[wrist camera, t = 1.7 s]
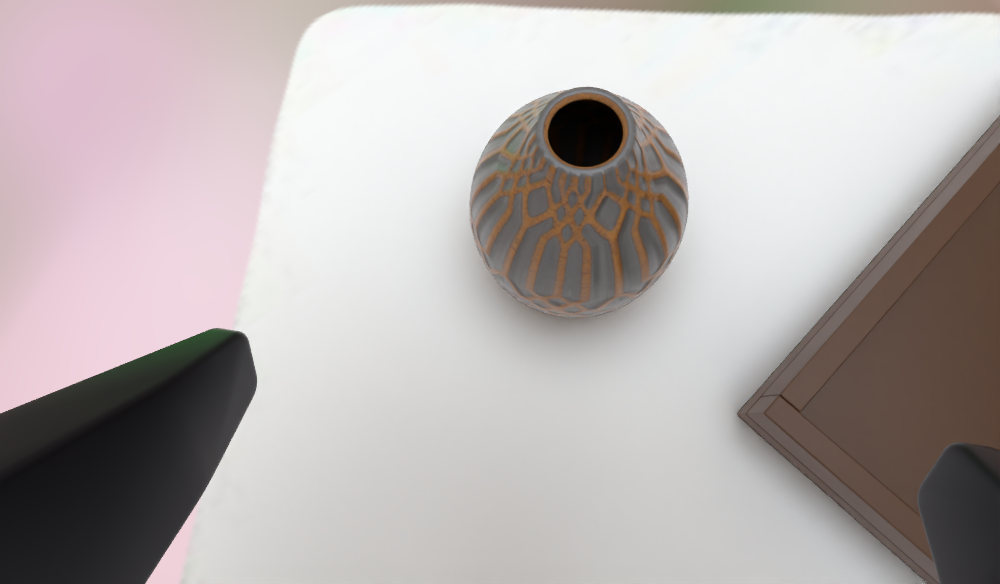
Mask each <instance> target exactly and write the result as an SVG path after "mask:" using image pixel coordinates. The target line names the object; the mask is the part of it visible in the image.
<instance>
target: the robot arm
mask: <svg viewBox="0 0 1000 584" xmlns="http://www.w3.org/2000/svg"><path fill="white" fill-rule="evenodd" d="M256 387H257V375H256V371H255V366H254V362H253V358H252V353H251V349H250V344H249V341H248V338H247V337H246V335H245V334H244V333H242V332H239V331H234V330H227V329H219V328H215V329H210V330H208V331H205V332H203V333H200V334H198V335H195V336H193V337H190V338H188V339H185V340H183V341H180V342H178V343H175V344H173V345H170V346H168V347H165V348H163V349H160V350H158V351H155V352H153V353H150V354H148V355H145V356H143V357H140V358H138V359H135V360H133V361H130V362H128V363H125V364H123V365H120V366H118V367H116V368H113V369H110V370H108V371H105V372H104V373H101V374H98V375H95V376H93V377H90V378H88V379H85V380H83V381H81V382H78V383H76V384H73V385H70V386H68V387H66V388H63V389H61V390H58V391H55V392H53V393H51V394H48V395H46V396H43V397H41V398H38V399H36V400H33V401H31V402H28V403H26V404H23V405H21V406H18V407H16V408H13V409H11V410H8V411H6V412H3V413H1V414H0V584H145V583H146V581H147V580H148V578H149V577H150V575H151V574H152V572H153V571H154V569H155V567H156V566H157V564H158V563H159V561H160V560H161V558H162V557H163V555H164V553H165V552H166V550H167V549H168V547H169V546H170V544H171V543H172V541H173V540H174V538H175V536H176V535H177V533H178V532H179V530H180V529H181V527H182V526H183V524H184V523H185V521H186V520H187V518H188V516H189V515H190V513H191V512H192V510H193V509H194V507H195V505H196V504H197V502H198V501H199V499H200V497H201V496H202V494H203V492H204V491H205V489H206V487H207V485H208V484H209V482H210V480H211V478H212V476H213V475H214V473H215V471H216V469H217V467H218V465H219V463H220V461H221V459H222V457H223V455H224V453H225V451H226V449H227V447H228V445H229V443H230V441H231V439H232V437H233V435H234V434H235V432H236V430H237V428H238V426H239V424H240V422H241V420H242V418H243V416H244V414H245V412H246V410H247V408H248V406H249V404H250V402H251V400H252V398H253V396H254V394H255V391H256ZM917 502H918V509H919V512H920V516H921V519H922V523H923V526H924V530H925V533H926V537H927V540H928V544H929V547H930V551H931V554H932V558H933V561H934V565H935V569H936V572H937V576H938V579H939V583H940V584H1000V450H998V449H995V448H992V447H989V446H983V445H976V444H970V443H963V442H956V443H952V444H950V445H949V446H947V447H946V448H945V449H944V451H943V452H942V453H941V455H940V456H939V458H938V459H937V461H936V462H935V464H934V465H933V467H932V468H931V470H930V471H929V473H928V474H927V476H926V477H925V479H924V480H923V482H922V483H921V485H920V487H919V490H918V496H917Z"/></svg>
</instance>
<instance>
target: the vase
mask: <svg viewBox="0 0 1000 584" xmlns="http://www.w3.org/2000/svg"><path fill="white" fill-rule="evenodd" d="M687 215H688V186H687V179H686V174H685V169H684V166H683V163H682V159H681V157H680V154H679V152H678V150H677V148H676V146H675V144H674V142H673V140H672V139H671V137H670V136H669V134H668V133H667V131H666V130H665V129H664V127H663V126H662V125H661V124H660V123H659V122H658V121H657V120H656V119H655V118H654V117H653V116H652V115H651V114H650V113H649V112H647V111H646V110H645V109H643V108H642V107H640V106H639V105H637V104H635V103H634V102H632V101H630V100H628V99H626V98H624V97H621V96H619V95H616V94H613V93H611V92H609V91H606V90H603V89H600V88H594V87H579V88H573V89H570V90H565V91H560V92H555V93H552V94H548V95H546V96H543V97H541V98H538V99H536V100H534V101H532V102H530V103H528V104H526V105H525V106H523V107H522V108H520V109H519V110H517V111H516V112H515V113H513V114H512V115H511V116H510V117H509V118H508V119H507V120H506V121H505V122H504V123H503V124H502V125H501V126H500V127H499V128H498V129H497V131H496V132H495V133H494V135H493V136H492V137H491V139H490V140H489V142H488V144H487V145H486V147H485V149H484V151H483V153H482V155H481V157H480V159H479V162H478V164H477V167H476V170H475V173H474V177H473V182H472V186H471V193H470V221H471V227H472V232H473V236H474V239H475V243H476V245H477V248H478V251H479V253H480V255H481V257H482V259H483V261H484V263H485V265H486V266H487V268H488V270H489V271H490V272H491V274H492V275H493V276H494V278H495V279H496V280H497V281H498V283H499V284H500V285H501V286H502V287H503V288H504V289H505V290H506V291H507V292H508V293H510V294H511V295H512V296H513V297H515V298H516V299H517V300H519V301H521V302H522V303H524V304H526V305H527V306H529V307H531V308H534V309H536V310H538V311H541V312H544V313H548V314H551V315H556V316H563V317H589V316H595V315H600V314H604V313H608V312H610V311H613V310H616V309H618V308H620V307H622V306H624V305H626V304H628V303H630V302H631V301H633V300H634V299H636V298H637V297H639V296H640V295H641V294H643V293H644V292H645V291H646V290H648V289H649V288H650V287H651V286H652V285H653V284H654V283H655V282H656V281H657V280H658V278H659V277H660V276H661V275H662V274H663V273H664V271H665V270H666V269H667V267H668V266H669V264H670V262H671V261H672V259H673V257H674V256H675V254H676V252H677V250H678V248H679V245H680V243H681V240H682V237H683V234H684V230H685V226H686V222H687Z"/></svg>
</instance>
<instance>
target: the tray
mask: <svg viewBox="0 0 1000 584" xmlns="http://www.w3.org/2000/svg"><path fill="white" fill-rule="evenodd" d="M738 416H739V417H740V418H741V419H742V420H744V421H745V422H746V423H747V424H748V425H749V426H750V427H752V428H753V429H754V430H755V431H756V432H757V433H758V434H759V435H761V436H762V437H763V438H764V439H765V440H766V441H767V442H769V443H770V444H771V445H772V446H773V447H774V448H775V449H776V450H778V451H779V452H780V453H781V454H782V455H783V456H784V457H786V458H787V459H788V460H789V461H790V462H791V463H792V464H793V465H795V466H796V467H797V468H798V469H799V470H800V471H801V472H803V473H804V474H805V475H806V476H807V477H808V478H809V479H810V480H812V481H813V482H814V483H815V484H816V485H817V486H818V487H820V488H821V489H822V490H823V491H824V492H825V493H826V494H827V495H829V496H830V497H831V498H832V499H833V500H834V501H835V502H837V503H838V504H839V505H840V506H841V507H842V508H843V509H844V510H846V511H847V512H848V513H849V514H850V515H851V516H852V517H854V518H855V519H856V520H857V521H858V522H859V523H860V524H861V525H863V526H864V527H865V528H866V529H867V530H868V531H869V532H871V533H872V534H873V535H874V536H875V537H876V538H877V539H878V540H880V541H881V542H882V543H883V544H884V545H885V546H886V547H888V548H889V549H890V550H891V551H892V552H893V553H894V554H895V555H897V556H898V557H899V558H900V559H901V560H902V561H903V562H905V563H906V564H907V565H908V566H909V567H910V568H911V569H912V570H914V571H915V572H916V573H917V574H918V575H919V576H920V577H922V578H923V579H924V580H925V581H926V582H927V583H928V584H940V583H939V579H938V576H937V572H936V569H935V565H934V561H933V558H932V554H931V551H930V547H929V544H928V540H927V537H926V533H925V530H924V526H923V523H922V519H921V516H920V512H919V509H918V502H917V496H918V490H919V487H920V485H921V483H922V482H923V480H924V479H925V477H926V476H927V474H928V473H929V471H930V470H931V468H932V467H933V465H934V464H935V462H936V461H937V459H938V458H939V456H940V455H941V453H942V452H943V451H944V449H945V448H946V447H947V446H949V445H950V444H952V443H956V442H963V443H970V444H976V445H983V446H989V447H992V448H995V449H998V450H1000V116H999V118H998V119H997V120H996V121H995V122H994V123H993V124H992V125H991V127H990V128H989V129H988V130H987V131H986V132H985V133H984V135H983V136H982V137H981V138H980V139H979V140H978V141H977V142H976V144H975V145H974V146H973V147H972V148H971V149H970V150H969V152H968V153H967V154H966V155H965V156H964V157H963V158H962V159H961V161H960V162H959V163H958V164H957V165H956V166H955V167H954V169H953V170H952V171H951V172H950V173H949V174H948V175H947V176H946V178H945V179H944V180H943V181H942V182H941V183H940V184H939V185H938V187H937V188H936V189H935V190H934V191H933V192H932V193H931V195H930V196H929V197H928V198H927V199H926V200H925V201H924V202H923V204H922V205H921V206H920V207H919V208H918V209H917V210H916V212H915V213H914V214H913V215H912V216H911V217H910V218H909V219H908V221H907V222H906V223H905V224H904V225H903V226H902V227H901V229H900V230H899V231H898V232H897V233H896V234H895V235H894V236H893V238H892V239H891V240H890V241H889V242H888V243H887V244H886V246H885V247H884V248H883V249H882V250H881V251H880V252H879V253H878V255H877V256H876V257H875V258H874V259H873V260H872V261H871V262H870V264H869V265H868V266H867V267H866V268H865V269H864V270H863V272H862V273H861V274H860V275H859V276H858V277H857V278H856V279H855V281H854V282H853V283H852V284H851V285H850V286H849V287H848V289H847V290H846V291H845V292H844V293H843V294H842V295H841V296H840V298H839V299H838V300H837V301H836V302H835V303H834V304H833V306H832V307H831V308H830V309H829V310H828V311H827V312H826V313H825V315H824V316H823V317H822V318H821V319H820V320H819V321H818V322H817V324H816V325H815V326H814V327H813V328H812V329H811V330H810V332H809V333H808V334H807V335H806V336H805V337H804V338H803V339H802V341H801V342H800V343H799V344H798V345H797V346H796V347H795V349H794V350H793V351H792V352H791V353H790V354H789V355H788V356H787V358H786V359H785V360H784V361H783V362H782V363H781V364H780V366H779V367H778V368H777V369H776V370H775V371H774V372H773V373H772V375H771V376H770V377H769V378H768V379H767V380H766V381H765V382H764V384H763V385H762V386H761V387H760V388H759V389H758V390H757V392H756V393H755V394H754V395H753V396H752V397H751V398H750V399H749V401H748V402H747V403H746V404H745V405H744V406H743V407H742V409H741V410H740V411H739V412H738Z"/></svg>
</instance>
